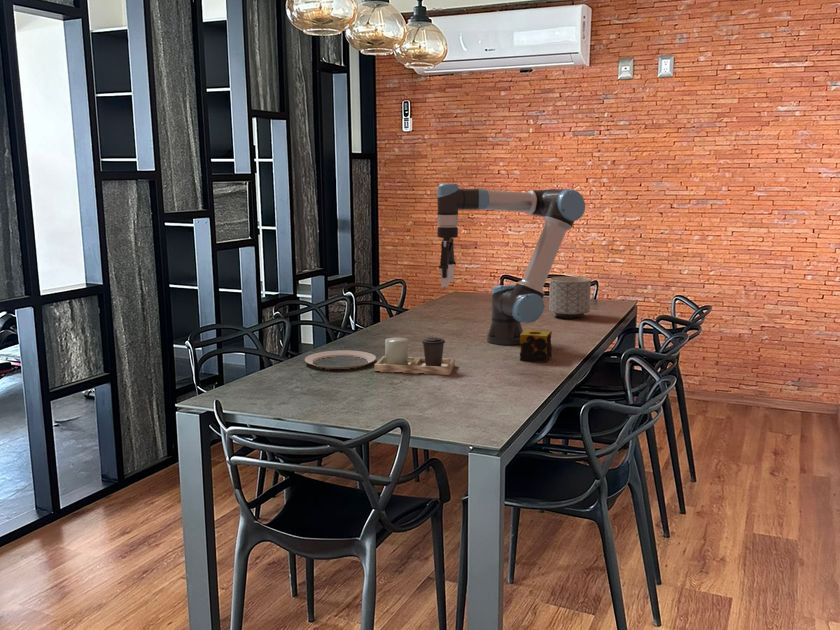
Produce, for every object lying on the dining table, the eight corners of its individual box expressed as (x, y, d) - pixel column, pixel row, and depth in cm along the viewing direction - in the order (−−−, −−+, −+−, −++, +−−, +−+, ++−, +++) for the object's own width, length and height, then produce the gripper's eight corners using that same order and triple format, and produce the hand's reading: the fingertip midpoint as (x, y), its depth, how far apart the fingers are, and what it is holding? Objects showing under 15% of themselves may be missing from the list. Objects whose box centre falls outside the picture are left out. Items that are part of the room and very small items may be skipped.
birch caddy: (454, 365, 275) (454, 358, 275) (449, 374, 262) (449, 367, 262) (382, 362, 279) (382, 356, 279) (374, 371, 267) (374, 364, 266)
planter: (595, 315, 373) (596, 278, 370) (580, 321, 357) (582, 282, 354) (558, 312, 383) (559, 275, 380) (542, 318, 367) (543, 279, 364)
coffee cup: (437, 370, 264) (437, 341, 262) (417, 367, 268) (417, 339, 267) (449, 365, 271) (449, 337, 269) (430, 362, 275) (429, 335, 273)
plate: (296, 359, 286) (296, 354, 286) (362, 353, 296) (362, 347, 296) (315, 375, 263) (315, 369, 263) (386, 367, 273) (386, 362, 273)
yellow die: (552, 357, 288) (552, 330, 287) (547, 363, 279) (548, 335, 277) (524, 355, 292) (525, 329, 290) (519, 361, 282) (519, 334, 280)
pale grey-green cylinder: (410, 362, 275) (410, 338, 274) (405, 368, 267) (405, 342, 266) (388, 362, 276) (387, 337, 275) (383, 367, 269) (382, 341, 267)
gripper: (442, 224, 296) (442, 279, 300) (432, 228, 272) (432, 288, 276) (462, 224, 295) (461, 280, 299) (453, 228, 271) (453, 289, 274)
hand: (447, 284), depth 287 cm, fingers open, 13 cm apart
